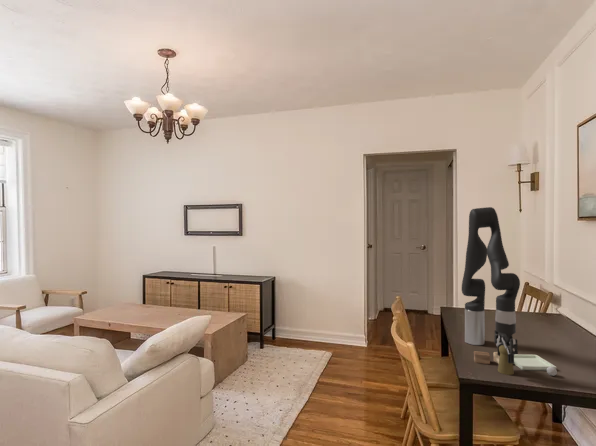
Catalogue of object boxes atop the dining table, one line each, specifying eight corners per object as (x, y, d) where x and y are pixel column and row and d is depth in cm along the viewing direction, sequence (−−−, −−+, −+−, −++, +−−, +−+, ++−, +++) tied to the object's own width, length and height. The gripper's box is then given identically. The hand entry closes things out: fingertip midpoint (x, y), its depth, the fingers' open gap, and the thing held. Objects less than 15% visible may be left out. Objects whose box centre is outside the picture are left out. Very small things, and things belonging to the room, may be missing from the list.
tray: (505, 357, 172) (505, 354, 172) (536, 358, 171) (536, 354, 171) (522, 370, 158) (522, 366, 158) (556, 370, 157) (556, 366, 157)
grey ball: (544, 373, 154) (544, 365, 154) (553, 373, 154) (553, 365, 154) (550, 377, 151) (550, 368, 151) (558, 377, 150) (559, 368, 150)
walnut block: (473, 359, 170) (473, 351, 170) (488, 361, 168) (488, 352, 168) (475, 362, 166) (475, 354, 166) (489, 364, 164) (489, 355, 164)
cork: (508, 368, 159) (508, 343, 159) (517, 374, 153) (517, 348, 153) (494, 369, 159) (494, 343, 159) (502, 375, 153) (502, 348, 153)
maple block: (493, 360, 168) (493, 352, 168) (501, 360, 169) (501, 351, 169) (499, 364, 164) (499, 355, 164) (507, 363, 165) (507, 354, 165)
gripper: (488, 316, 163) (488, 353, 163) (505, 325, 149) (505, 365, 149) (505, 316, 163) (505, 353, 163) (524, 325, 148) (524, 366, 148)
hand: (505, 359), depth 156 cm, fingers open, 8 cm apart
